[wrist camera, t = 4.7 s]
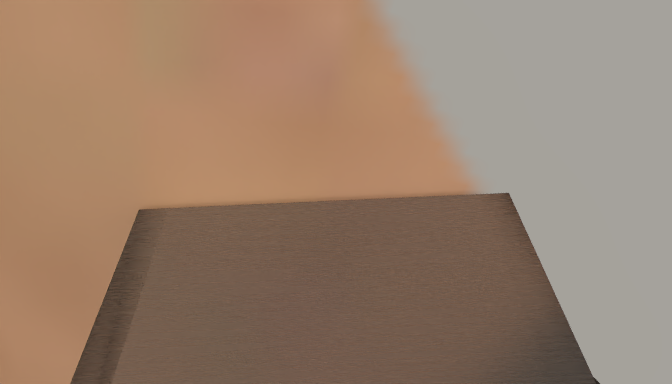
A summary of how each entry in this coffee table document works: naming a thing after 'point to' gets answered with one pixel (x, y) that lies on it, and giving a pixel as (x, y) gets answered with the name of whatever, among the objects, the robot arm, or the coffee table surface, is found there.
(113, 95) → the coffee table surface
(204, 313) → the grey hollow box
